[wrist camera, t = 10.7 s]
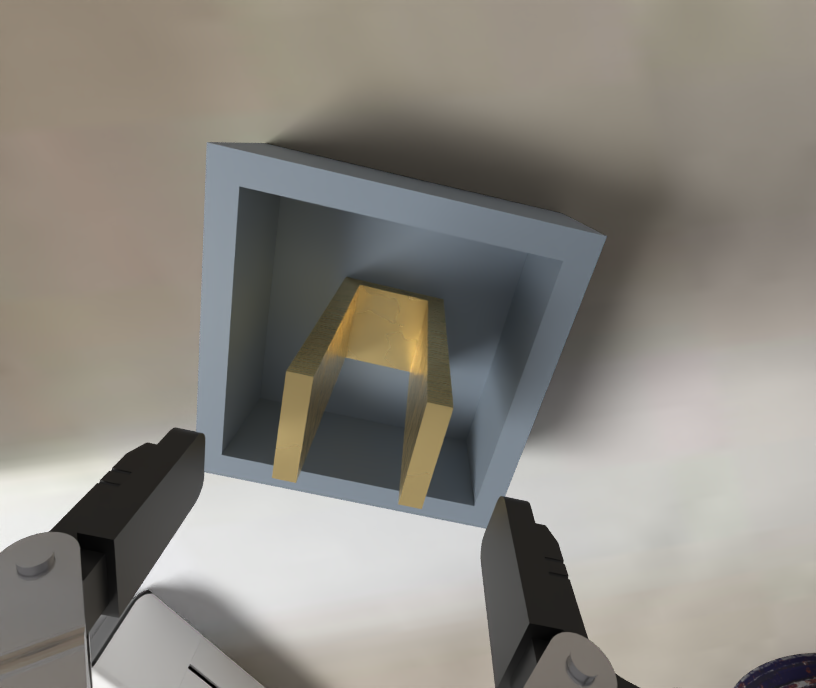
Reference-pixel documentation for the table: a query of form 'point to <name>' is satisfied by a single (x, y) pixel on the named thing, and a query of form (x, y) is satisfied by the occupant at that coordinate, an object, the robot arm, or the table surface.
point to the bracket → (383, 345)
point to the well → (394, 267)
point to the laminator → (158, 651)
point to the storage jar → (783, 673)
